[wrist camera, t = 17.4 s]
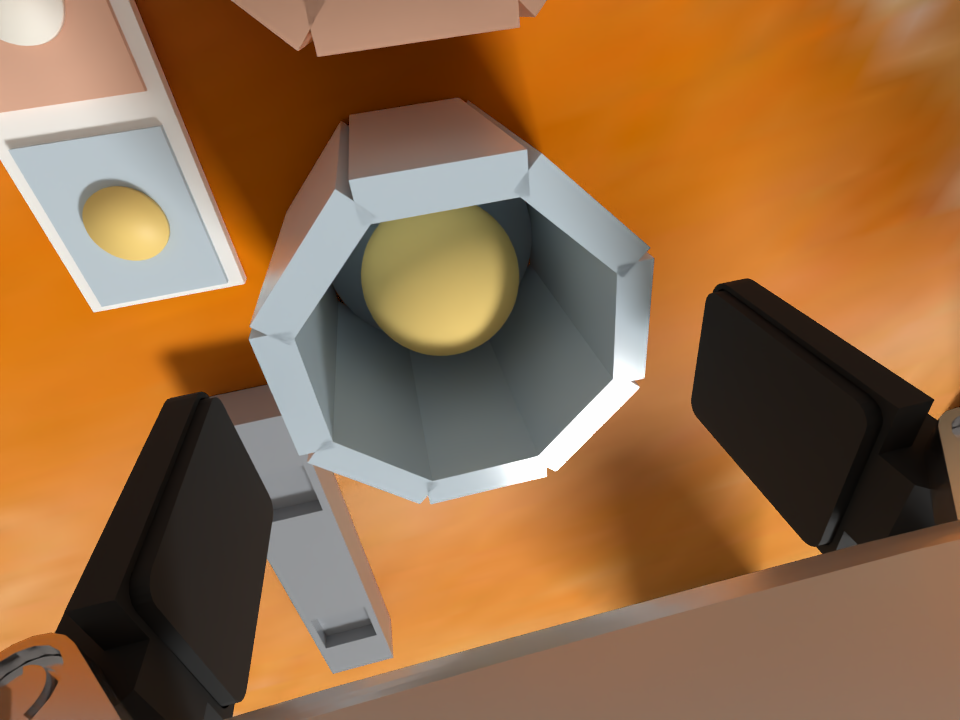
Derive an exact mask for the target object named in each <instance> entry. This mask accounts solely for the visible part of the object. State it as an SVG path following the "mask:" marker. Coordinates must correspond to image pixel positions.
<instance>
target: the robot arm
mask: <svg viewBox="0 0 960 720" xmlns="http://www.w3.org/2000/svg"><path fill="white" fill-rule="evenodd" d="M933 401H934V399H933V398H931V397H929V396H928V395H926V394H925V393H923V392H922V391H920V390H919V389H917V388H916V387H914V386H913V385H911V384H910V383H908V382H907V381H905V380H904V379H902V378H901V377H899V376H898V375H896V374H895V373H893V372H892V371H890V370H888V369H887V368H885V367H884V366H882V365H881V364H879V363H878V362H876V361H875V360H873V359H872V358H870V357H869V356H867V355H866V354H864V353H863V352H861V351H860V350H858V349H857V348H855V347H854V346H852V345H850V344H849V343H847V342H846V341H844V340H843V339H841V338H840V337H838V336H837V335H835V334H834V333H832V332H831V331H829V330H828V329H826V328H825V327H823V326H822V325H820V324H819V323H817V322H816V321H814V320H813V319H811V318H809V317H808V316H806V315H805V314H803V313H802V312H800V311H799V310H797V309H796V308H794V307H793V306H791V305H790V304H788V303H787V302H785V301H784V300H782V299H781V298H779V297H778V296H776V295H775V294H773V293H772V292H770V291H768V290H767V289H765V288H764V287H762V286H761V285H759V284H758V283H756V282H755V281H753V280H751V279H749V278H748V279H741V280H736V281H731V282H726V283H722V284H719V285H717V286H716V287H715V289H714V290H713V293H711V294H709V295H708V297H707V299H706V303H705V310H704V316H703V323H702V330H701V337H700V343H699V350H698V357H697V364H696V370H695V377H694V384H693V391H692V398H691V404H692V408H693V411H694V413H695V415H696V417H697V418H698V419H699V420H700V422H701V423H702V424H703V425H704V426H705V427H706V428H707V430H708V431H709V432H710V433H711V434H712V435H713V437H714V438H715V439H716V440H717V441H718V442H719V444H720V445H721V446H722V447H723V448H724V449H725V451H726V452H727V453H728V454H729V455H730V456H731V457H732V459H733V460H734V461H735V462H736V463H737V464H738V466H739V467H740V468H741V469H742V470H743V471H744V473H745V474H746V475H747V476H748V477H749V478H750V480H751V481H752V482H753V483H754V484H755V485H756V486H757V488H758V489H759V490H760V491H761V492H762V493H763V495H764V496H765V497H766V498H767V499H768V500H769V502H770V503H771V504H772V505H773V506H774V507H775V509H776V510H777V511H778V512H779V513H780V514H781V515H782V517H783V518H784V519H785V520H786V521H787V522H788V524H789V525H790V526H791V527H792V528H793V529H794V531H795V532H796V533H797V534H798V535H799V536H800V538H801V539H802V540H803V541H804V542H805V543H807V544H808V545H810V546H813V547H815V546H816V547H817V548H818V549H819V550H820V552H821V553H822V554H821V555H817V556H813V557H810V558H806V559H802V560H798V561H795V562H791V563H787V564H783V565H780V566H776V567H772V568H768V569H765V570H761V571H757V572H753V573H749V574H746V575H742V576H738V577H734V578H731V579H727V580H723V581H719V582H716V583H712V584H708V585H704V586H701V587H697V588H693V589H690V590H686V591H682V592H679V593H675V594H671V595H667V596H664V597H660V598H656V599H653V600H649V601H645V602H642V603H638V604H634V605H631V606H627V607H623V608H620V609H616V610H612V611H608V612H605V613H601V614H597V615H594V616H590V617H586V618H583V619H579V620H575V621H572V622H568V623H564V624H561V625H557V626H553V627H550V628H546V629H542V630H539V631H535V632H531V633H528V634H524V635H520V636H517V637H513V638H509V639H506V640H502V641H499V642H495V643H491V644H488V645H484V646H481V647H477V648H473V649H470V650H466V651H463V652H459V653H455V654H452V655H448V656H445V657H441V658H437V659H434V660H430V661H427V662H423V663H419V664H416V665H412V666H409V667H405V668H401V669H398V670H394V671H391V672H387V673H383V674H380V675H376V676H373V677H369V678H365V679H362V680H358V681H354V682H351V683H347V684H344V685H340V686H336V687H333V688H329V689H326V690H322V691H319V692H316V693H312V694H309V695H306V696H302V697H299V698H295V699H292V700H289V701H285V702H282V703H278V704H275V705H272V706H268V707H265V708H262V709H258V710H255V711H251V712H248V713H245V714H241V715H238V716H234V717H233V711H234V705H235V703H238V702H241V701H242V700H243V698H244V696H245V694H246V689H247V683H248V677H249V670H250V664H251V657H252V651H253V644H254V638H255V631H256V625H257V618H258V612H259V605H260V599H261V592H262V586H263V579H264V573H265V566H266V560H267V553H268V547H269V540H270V534H271V527H272V521H273V505H272V501H271V498H270V496H269V494H268V492H267V490H266V488H265V486H264V484H263V482H262V480H261V478H260V476H259V474H258V472H257V470H256V468H255V466H254V464H253V462H252V460H251V458H250V456H249V454H248V452H247V450H246V448H245V446H244V444H243V442H242V441H241V439H240V437H239V435H238V433H237V431H236V429H235V427H234V425H233V423H232V421H231V419H230V417H229V415H228V413H227V411H226V409H225V407H224V405H223V403H222V402H221V400H220V399H219V398H217V397H213V398H210V397H209V396H208V395H207V394H206V393H205V392H198V393H193V394H188V395H183V396H178V397H174V398H170V399H167V400H166V402H165V403H164V405H163V407H162V409H161V411H160V413H159V415H158V418H157V420H156V422H155V424H154V426H153V428H152V430H151V432H150V434H149V436H148V438H147V441H146V443H145V445H144V447H143V449H142V451H141V453H140V455H139V457H138V459H137V461H136V463H135V466H134V468H133V470H132V472H131V474H130V476H129V478H128V480H127V482H126V484H125V486H124V489H123V491H122V493H121V495H120V497H119V499H118V501H117V503H116V505H115V507H114V509H113V512H112V514H111V516H110V518H109V520H108V522H107V524H106V526H105V528H104V530H103V532H102V534H101V537H100V539H99V541H98V543H97V545H96V547H95V549H94V551H93V553H92V555H91V557H90V560H89V562H88V564H87V566H86V568H85V570H84V572H83V574H82V576H81V578H80V580H79V582H78V585H77V587H76V589H75V591H74V593H73V595H72V597H71V599H70V601H69V603H68V605H67V608H66V610H65V613H64V615H63V617H62V619H61V621H60V623H59V625H58V627H57V630H56V632H55V633H47V634H41V635H36V636H32V637H30V638H27V639H25V640H22V641H20V642H18V643H15V644H13V645H11V646H10V647H8V648H6V649H5V650H3V651H1V652H0V720H960V407H957V408H954V409H951V410H948V411H946V412H945V413H944V414H943V415H942V416H941V417H940V418H939V419H938V420H936V419H935V418H933V417H932V416H930V415H929V414H928V412H929V410H930V408H931V406H932V403H933Z"/></svg>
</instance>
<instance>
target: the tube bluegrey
mask: <svg viewBox="0 0 960 720" xmlns="http://www.w3.org/2000/svg"><path fill="white" fill-rule="evenodd" d="M525 201H526V203H525ZM474 205H477V206H479V207H480V208H482V209H483V210H485V211H486V212H488V213H489V214H490V215H491V216H492V217H493V218H494V219H495V220H496V221H497V222H498V223H499V224H500V225H501V226H502V227H503V229H504V230H505V232H506V233H507V235H508V236H509V238H510V241H511V243H512V245H513V247H514V249H515V253H516V256H517V260H518V267H519V287H518V294H517V298H516V301H515V304H514V307H513V309H512V311H511V313H510V315H509V317H508V319H507V320H506V322H505V323H504V325H503V326H502V327H501V329H500V330H499V331H498V332H497V333H496V334H495V335H494V336H493V337H491V338H490V339H489V340H488V341H486V342H485V343H483V344H482V345H480V346H478V347H476V348H474V349H472V350H469V351H467V352H464V353H460V354H455V355H449V356H433V355H426V354H421V353H418V352H415V351H413V350H410V349H408V348H406V347H404V346H402V345H400V344H399V343H397V342H395V341H394V340H393V339H392V338H390V337H389V336H388V335H387V334H386V333H385V332H384V331H383V330H382V329H381V328H380V327H379V326H378V324H377V323H376V321H375V320H374V318H373V317H372V315H371V313H370V311H369V309H368V307H367V304H366V302H365V299H364V295H363V290H362V284H361V267H362V260H363V256H364V251H365V248H366V246H367V243H368V241H369V239H370V237H371V236H372V234H373V232H374V231H375V229H376V228H377V227H378V225H379V224H380V223H381V222H386V221H391V220H397V219H402V218H408V217H413V216H419V215H424V214H430V213H435V212H441V211H446V210H452V209H457V208H463V207H468V206H474ZM649 249H650V247H649V246H648V245H647V244H646V243H644V242H643V241H642V240H641V239H640V238H639V237H637V236H636V235H635V234H634V233H633V232H632V231H631V230H629V229H628V228H627V227H626V226H625V225H624V224H622V223H621V222H620V221H619V220H618V219H617V218H616V217H614V216H613V215H612V214H611V213H610V212H609V211H607V210H606V209H605V208H604V207H603V206H602V205H601V204H599V203H598V202H597V201H596V200H595V199H594V198H592V197H591V196H590V195H589V194H588V193H587V192H586V191H584V190H583V189H582V188H581V187H580V186H579V185H577V184H576V183H575V182H574V181H573V180H572V179H571V178H569V177H568V176H567V175H566V174H565V173H564V172H562V171H561V170H560V169H559V168H558V167H557V166H556V165H554V164H553V163H552V162H551V161H550V160H549V159H547V158H546V157H545V156H544V155H543V154H542V153H540V152H539V151H538V150H536V149H535V148H533V147H532V146H531V145H529V144H528V143H527V142H525V141H524V140H522V139H521V138H520V137H518V136H517V135H515V134H514V133H513V132H511V131H510V130H509V129H507V128H506V127H504V126H503V125H502V124H500V123H499V122H497V121H496V120H495V119H493V118H492V117H491V116H489V115H488V114H486V113H485V112H484V111H482V110H481V109H480V108H478V107H477V106H475V105H474V104H473V103H471V102H470V101H467V102H466V103H465V102H464V101H463V100H461V99H460V98H452V99H446V100H440V101H434V102H427V103H421V104H415V105H408V106H402V107H396V108H389V109H383V110H377V111H371V112H364V113H358V114H352V115H349V126H348V125H347V124H345V123H344V122H343V121H340V123H339V125H338V126H337V128H336V130H335V131H334V133H333V135H332V137H331V138H330V140H329V142H328V143H327V145H326V147H325V148H324V150H323V152H322V153H321V155H320V157H319V158H318V160H317V162H316V163H315V165H314V167H313V168H312V170H311V172H310V173H309V175H308V177H307V178H306V180H305V182H304V183H303V185H302V187H301V189H300V190H299V192H298V194H297V195H296V197H295V199H294V200H293V202H292V204H291V205H290V207H289V209H288V210H287V212H286V215H285V218H284V221H283V224H282V228H281V231H280V234H279V237H278V240H277V243H276V246H275V249H274V252H273V255H272V258H271V262H270V265H269V268H268V271H267V274H266V277H265V280H264V283H263V286H262V289H261V292H260V296H259V299H258V302H257V305H256V308H255V311H254V314H253V317H252V320H251V323H250V326H249V327H251V328H252V330H251V333H250V336H249V341H250V344H251V346H252V348H253V351H254V353H255V355H256V357H257V360H258V362H259V364H260V367H261V369H262V371H263V374H264V376H265V378H266V381H267V383H268V385H269V387H270V390H271V392H272V394H273V397H274V399H275V401H276V404H277V406H278V408H279V411H280V413H281V415H282V417H283V420H284V422H285V424H286V427H287V429H288V431H289V434H290V436H291V438H292V441H293V443H294V445H295V447H296V450H297V452H298V454H299V456H301V455H305V454H308V460H307V463H309V464H312V465H315V466H318V467H320V468H323V469H326V470H328V471H331V472H334V473H337V474H339V475H342V476H345V477H348V478H350V479H353V480H356V481H359V482H361V483H364V484H367V485H370V486H372V487H375V488H378V489H380V490H383V491H386V492H389V493H391V494H394V495H397V496H400V497H402V498H405V499H408V500H411V501H413V502H416V503H419V504H420V503H421V502H422V501H423V500H424V499H425V498H426V497H427V496H429V500H430V504H434V503H438V502H442V501H447V500H451V499H455V498H459V497H463V496H467V495H471V494H476V493H480V492H484V491H488V490H492V489H496V488H501V487H505V486H509V485H513V484H517V483H521V482H526V481H530V480H534V479H538V478H542V477H546V476H547V471H546V467H548V468H550V469H552V470H554V471H557V470H558V469H559V468H560V467H561V466H562V465H563V464H564V463H565V462H566V461H567V460H568V459H569V458H570V457H571V456H572V455H573V454H574V453H575V452H576V451H577V450H578V449H579V448H580V447H581V446H582V445H583V444H584V443H585V442H586V441H587V440H588V439H589V438H590V437H591V436H592V435H593V434H594V433H595V432H596V431H597V430H598V429H599V428H600V427H601V426H602V425H603V424H604V423H605V422H606V421H607V420H608V419H609V418H610V417H611V416H612V415H613V414H614V413H615V412H616V411H617V410H618V409H619V408H620V407H621V406H622V405H623V404H624V403H625V402H626V401H627V400H628V399H629V398H630V397H631V396H632V395H633V394H634V393H635V392H636V391H637V390H638V389H639V388H640V387H639V386H638V384H637V383H636V382H635V381H634V380H639V379H643V378H645V367H646V355H647V342H648V330H649V317H650V305H651V292H652V280H653V268H654V258H653V257H652V256H651V255H650V254H648V253H647V251H648V250H649ZM529 258H530V264H529V266H528V267H527V265H528V262H529ZM335 290H336V291H335ZM336 292H337V293H338V295H339V296H340V298H341V299H342V300H343V302H344V303H345V304H346V305H347V306H346V305H344V304H343V303H341V302H339V301H338V298H337V295H336Z"/></svg>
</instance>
